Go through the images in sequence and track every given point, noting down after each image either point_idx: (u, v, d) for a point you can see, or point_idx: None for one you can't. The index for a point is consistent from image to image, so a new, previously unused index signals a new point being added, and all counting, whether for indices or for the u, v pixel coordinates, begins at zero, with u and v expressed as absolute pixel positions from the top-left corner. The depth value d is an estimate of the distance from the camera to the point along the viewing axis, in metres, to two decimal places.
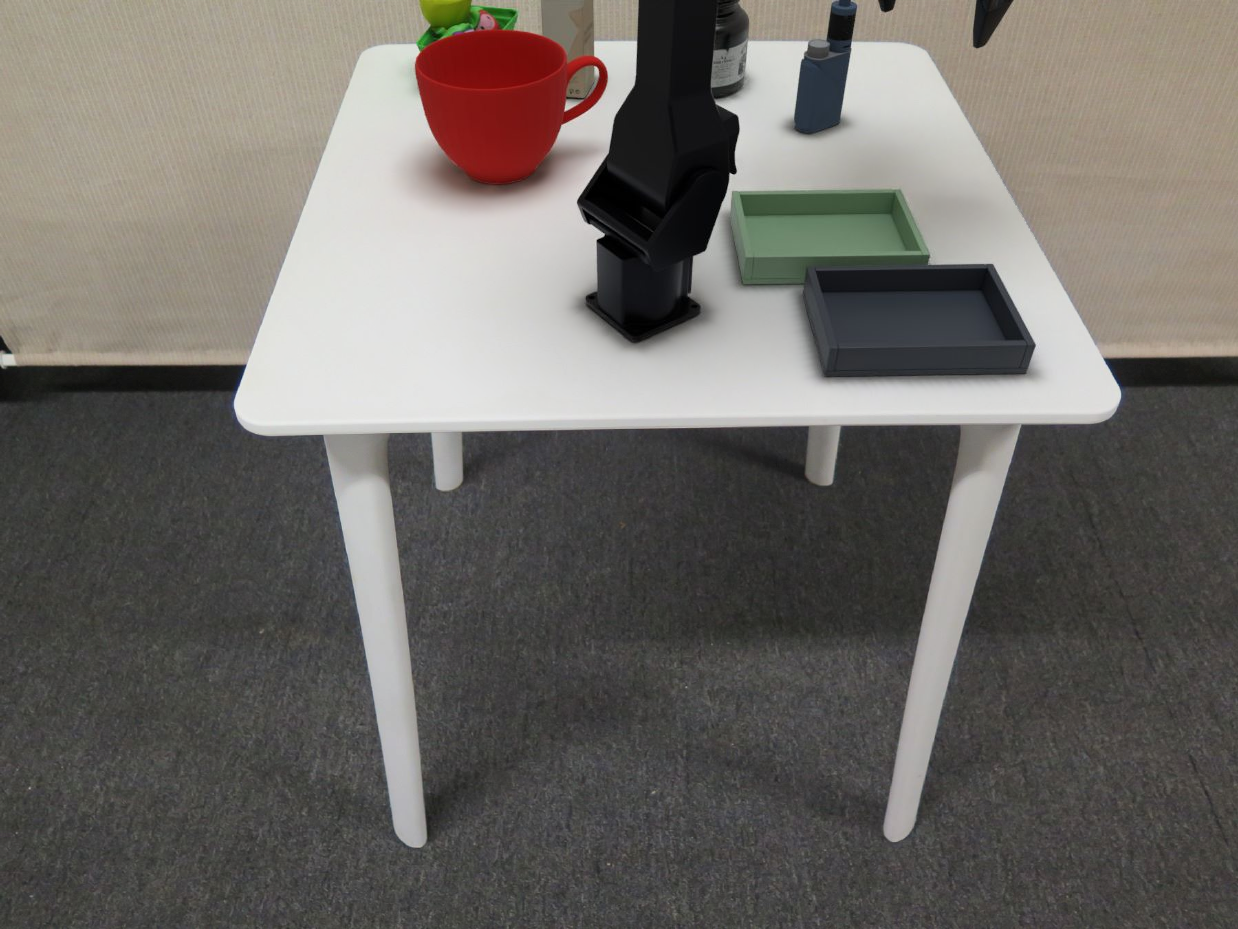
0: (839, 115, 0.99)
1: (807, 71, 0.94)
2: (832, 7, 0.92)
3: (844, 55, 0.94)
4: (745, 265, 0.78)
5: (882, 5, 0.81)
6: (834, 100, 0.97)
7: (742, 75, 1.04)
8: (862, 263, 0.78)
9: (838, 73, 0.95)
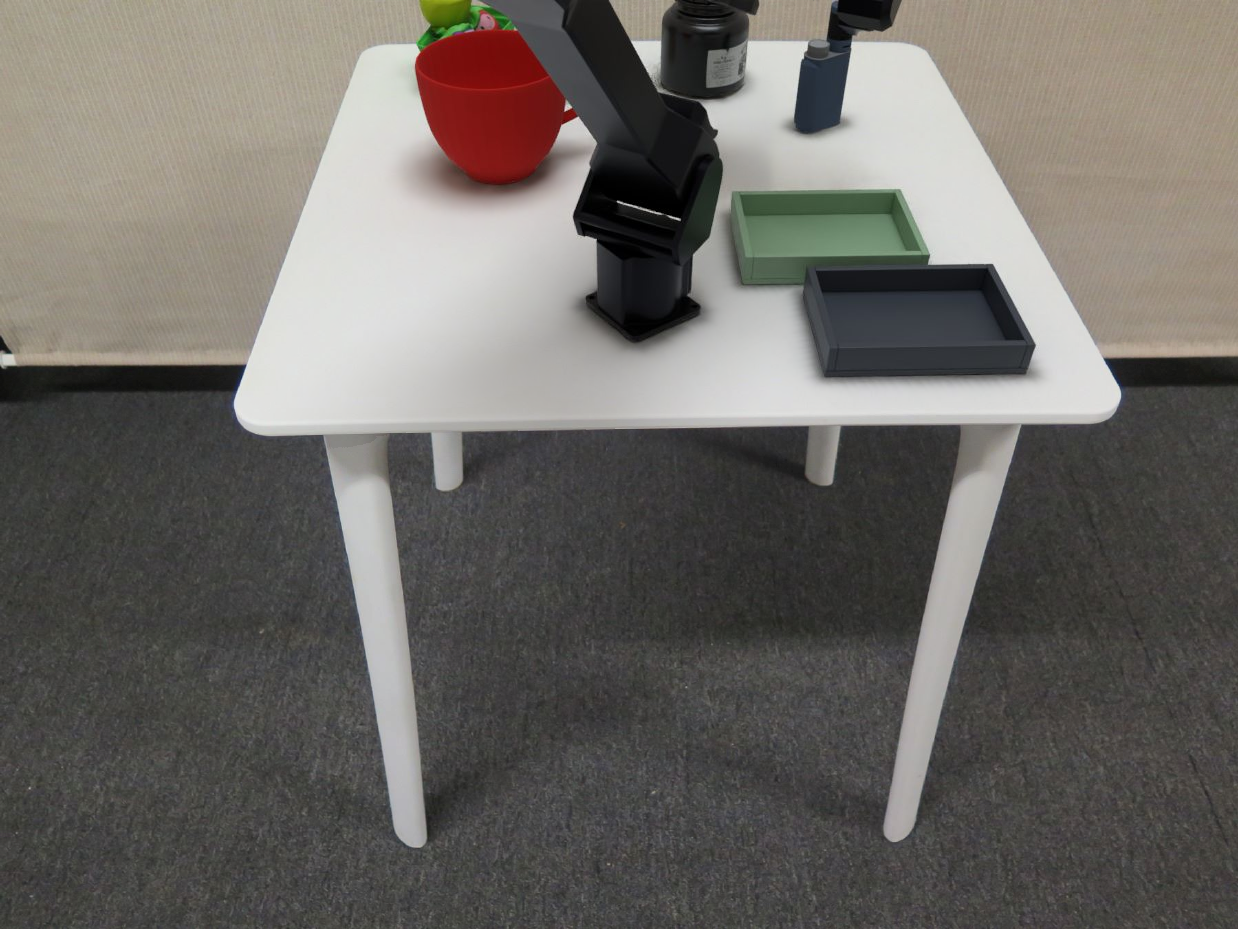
0: (839, 115, 0.99)
1: (807, 71, 0.94)
2: (832, 7, 0.92)
3: (844, 55, 0.94)
4: (745, 265, 0.78)
5: (751, 14, 0.87)
6: (834, 100, 0.97)
7: (742, 75, 1.04)
8: (862, 263, 0.78)
9: (838, 73, 0.95)
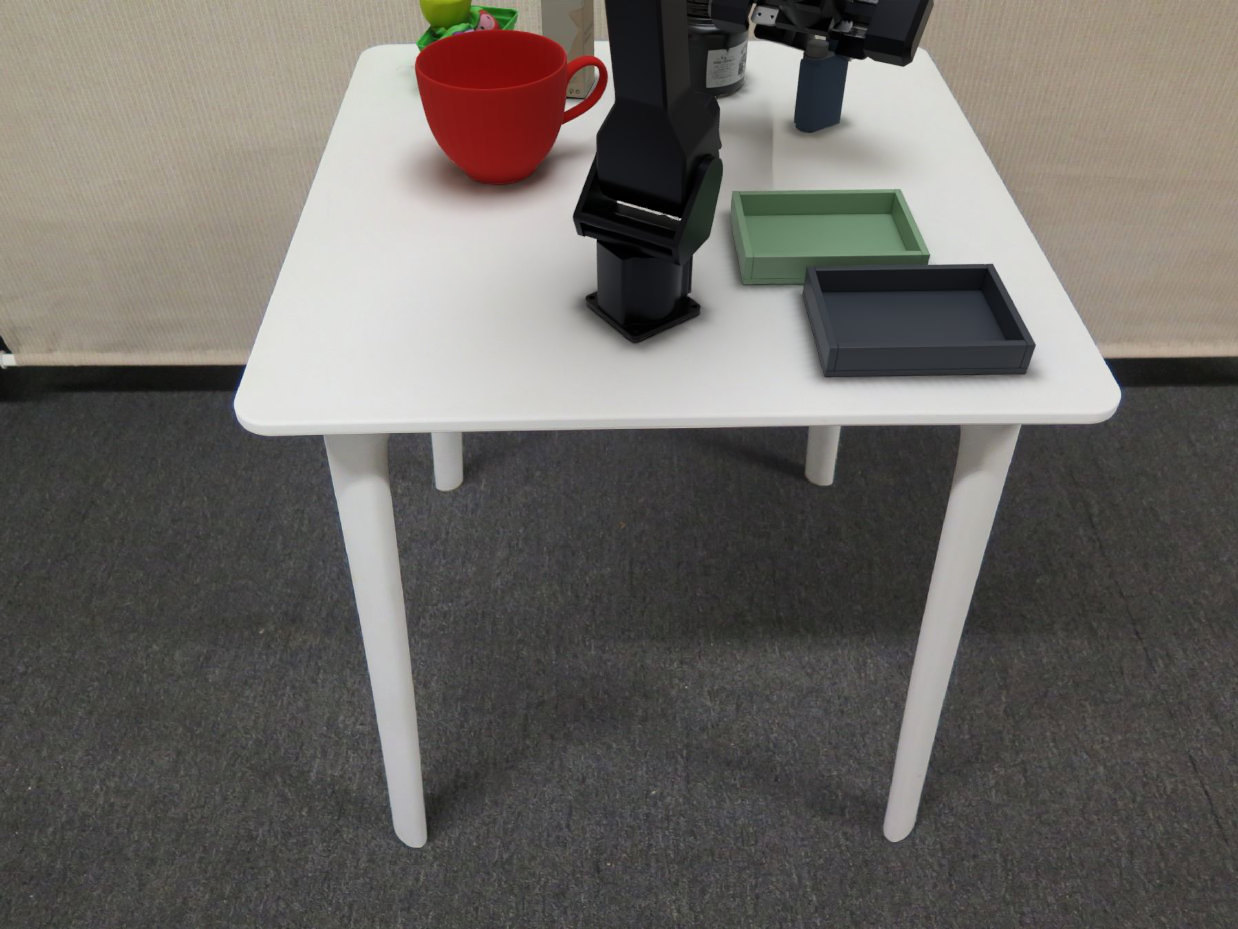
0: (839, 115, 0.98)
1: (806, 71, 0.94)
2: None
3: None
4: (745, 265, 0.78)
5: None
6: (834, 99, 0.97)
7: (742, 75, 1.04)
8: (862, 263, 0.78)
9: (837, 72, 0.95)
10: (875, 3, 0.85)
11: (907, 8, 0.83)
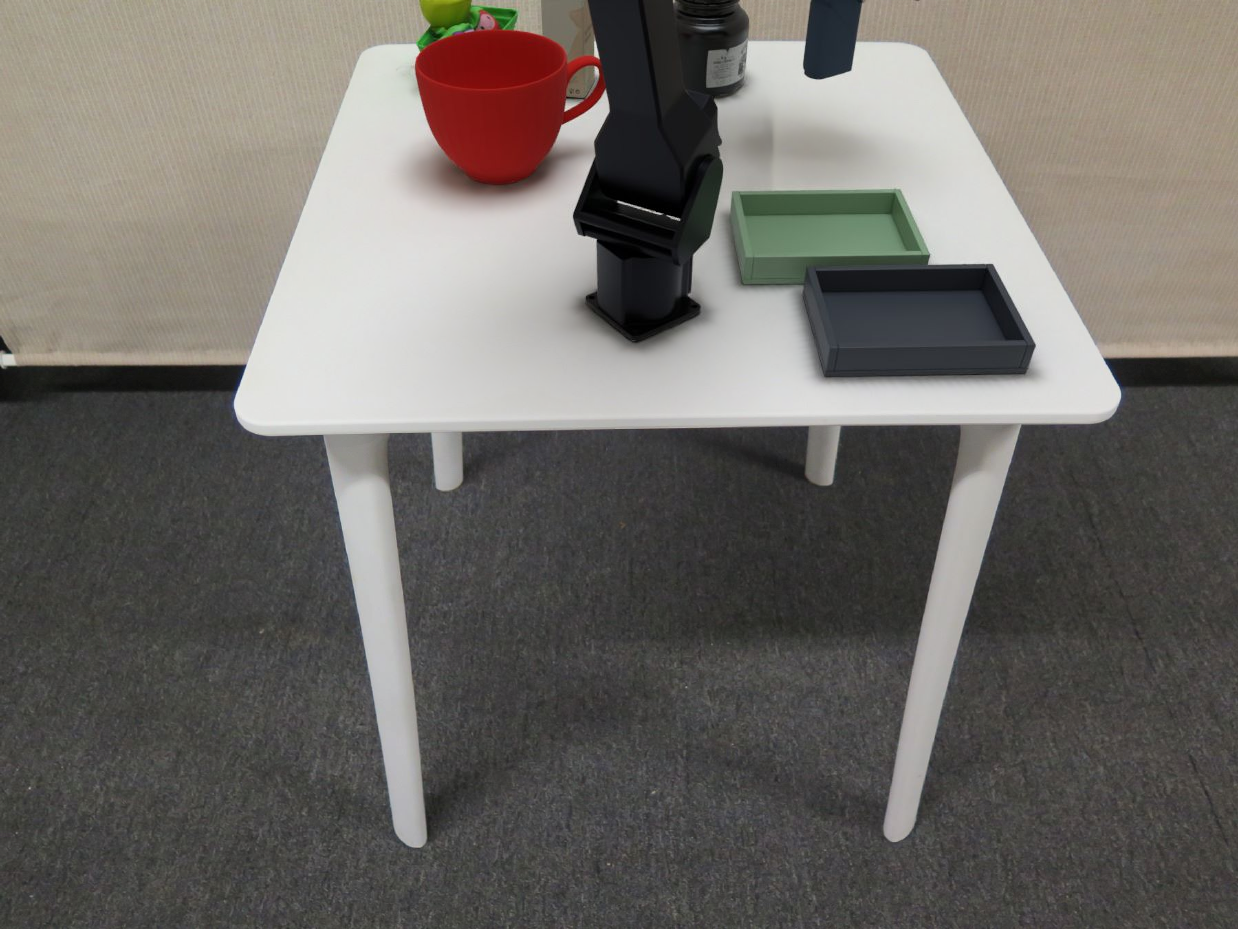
0: (851, 62, 0.94)
1: (817, 11, 0.89)
2: None
3: None
4: (745, 265, 0.78)
5: None
6: (845, 44, 0.92)
7: (742, 75, 1.04)
8: (862, 263, 0.78)
9: (850, 14, 0.90)
10: None
11: None
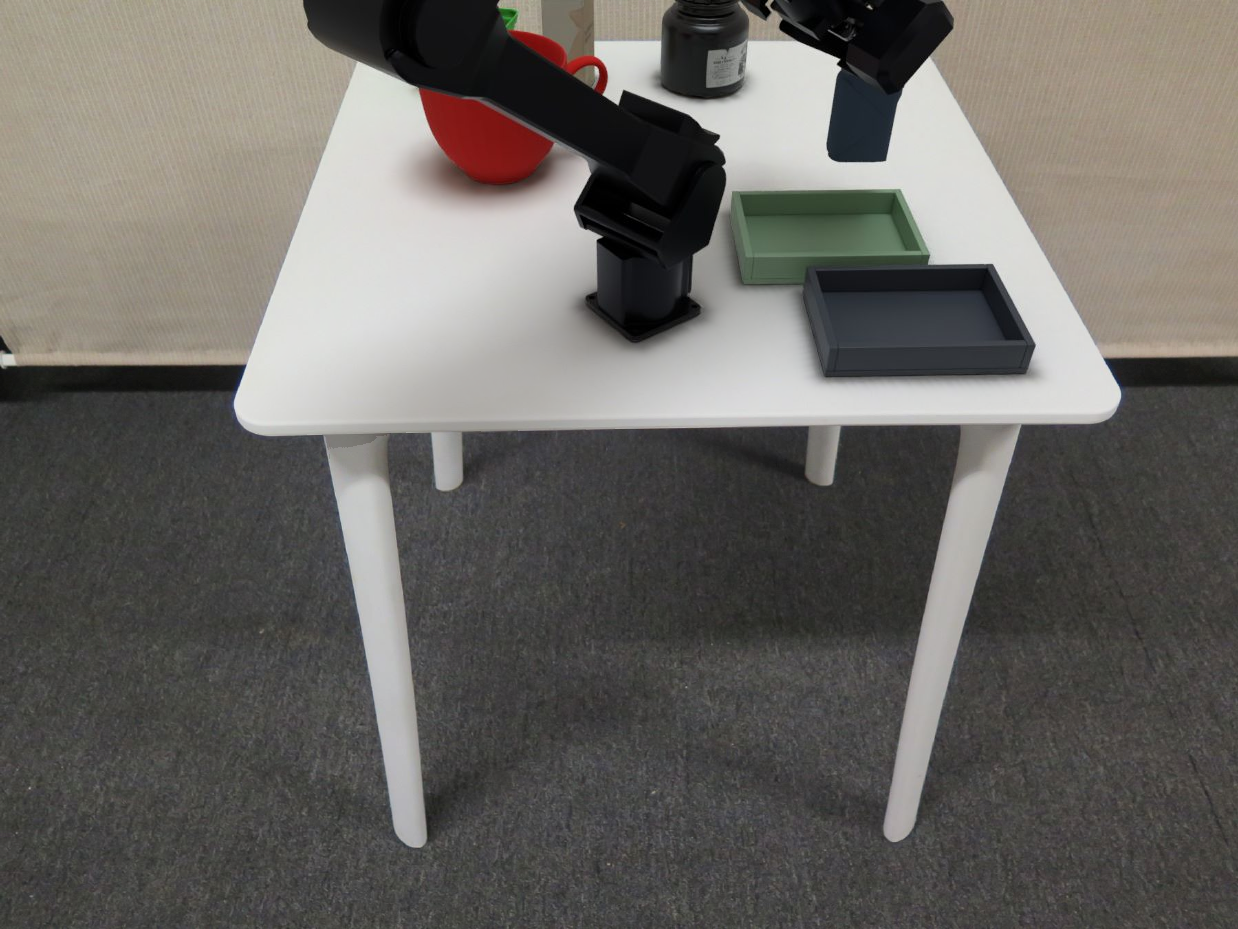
0: (883, 152, 0.81)
1: (837, 85, 0.78)
2: None
3: None
4: (745, 265, 0.78)
5: None
6: (874, 130, 0.80)
7: (742, 75, 1.04)
8: (862, 263, 0.78)
9: (880, 98, 0.78)
10: None
11: (901, 22, 0.66)
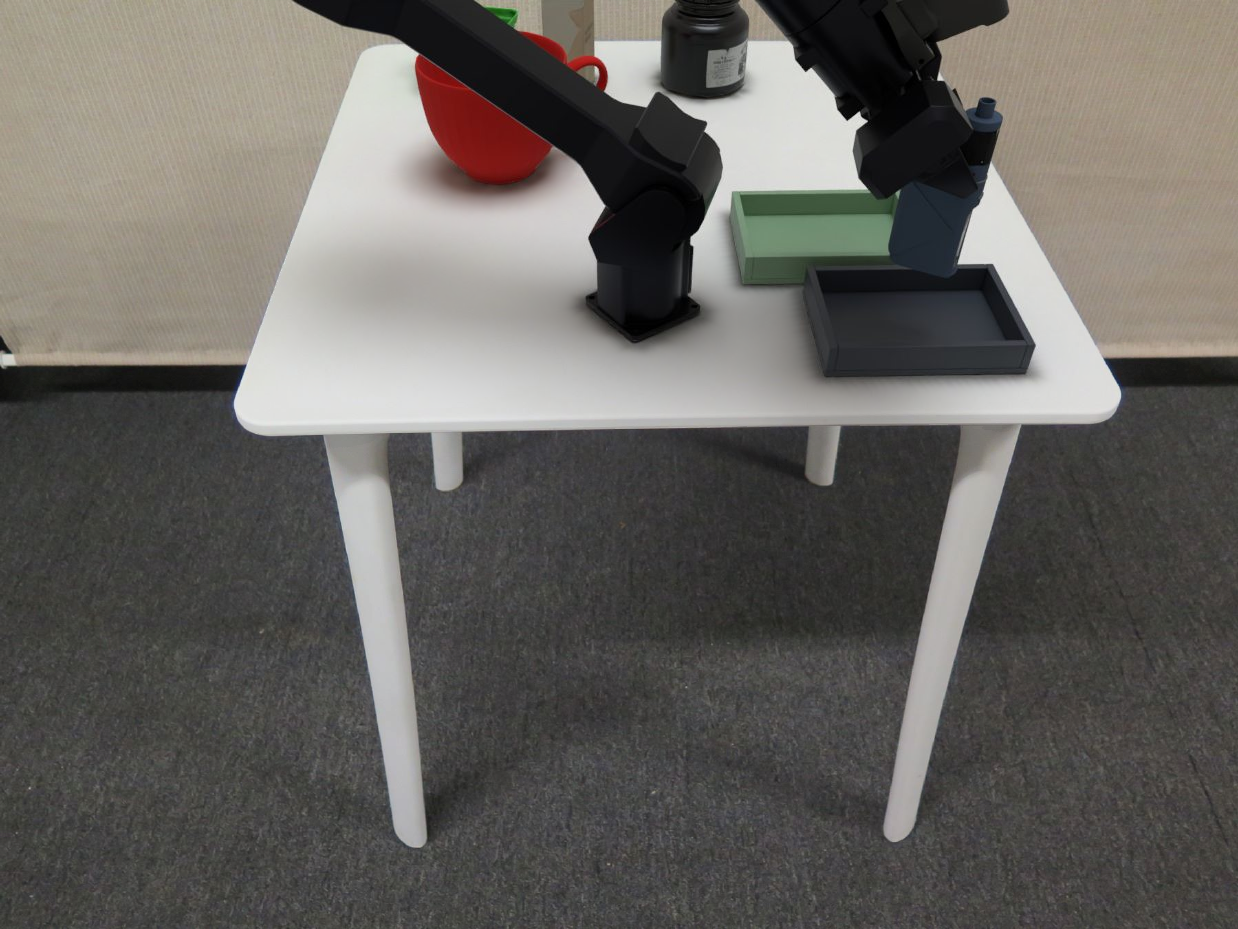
0: (946, 267, 0.69)
1: None
2: None
3: None
4: (745, 265, 0.78)
5: None
6: (936, 239, 0.68)
7: (742, 75, 1.04)
8: (862, 263, 0.78)
9: (945, 204, 0.66)
10: None
11: (901, 120, 0.55)
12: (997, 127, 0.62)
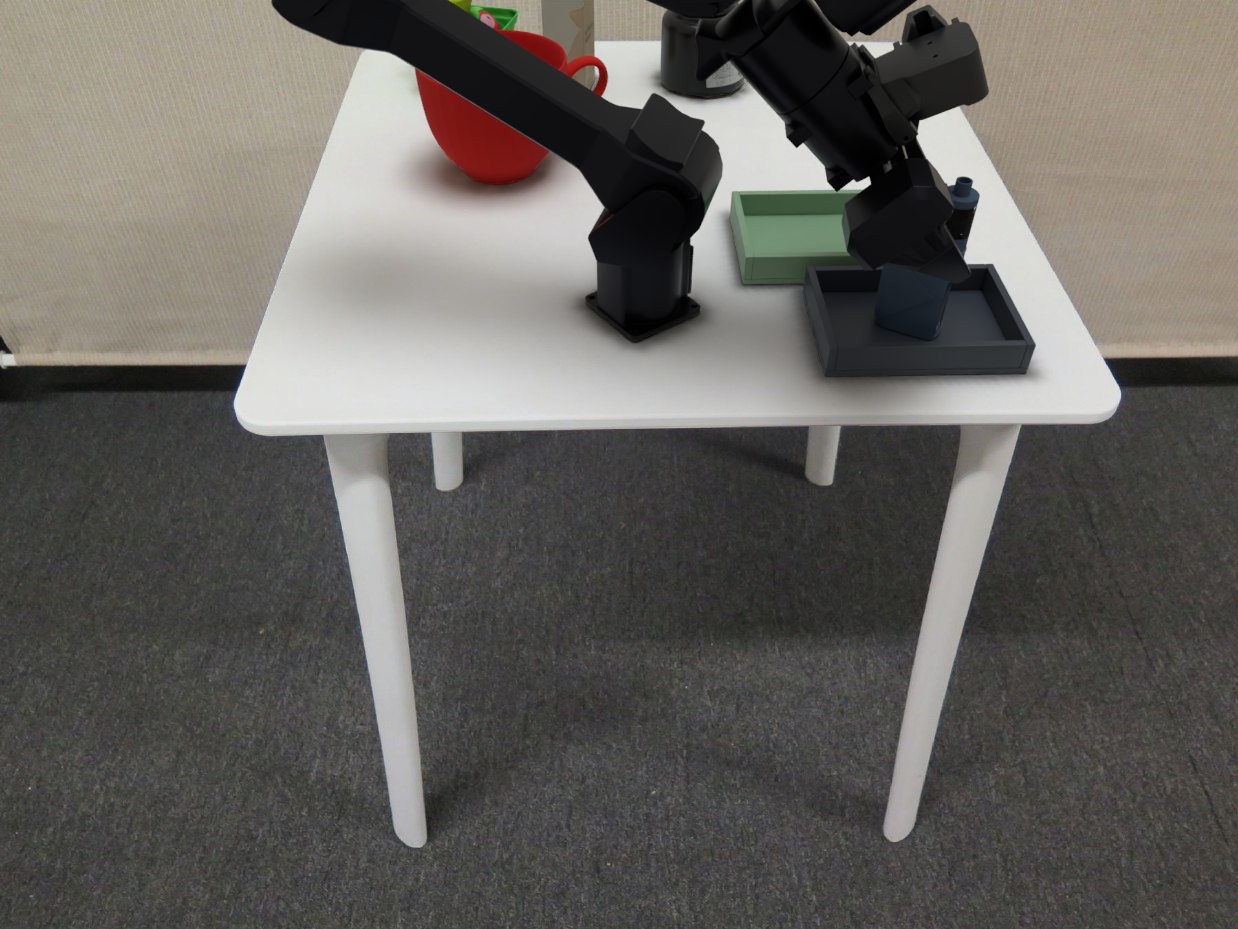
0: (929, 330, 0.72)
1: None
2: None
3: None
4: (745, 265, 0.78)
5: None
6: (919, 305, 0.71)
7: None
8: None
9: None
10: None
11: (886, 197, 0.59)
12: (974, 205, 0.66)
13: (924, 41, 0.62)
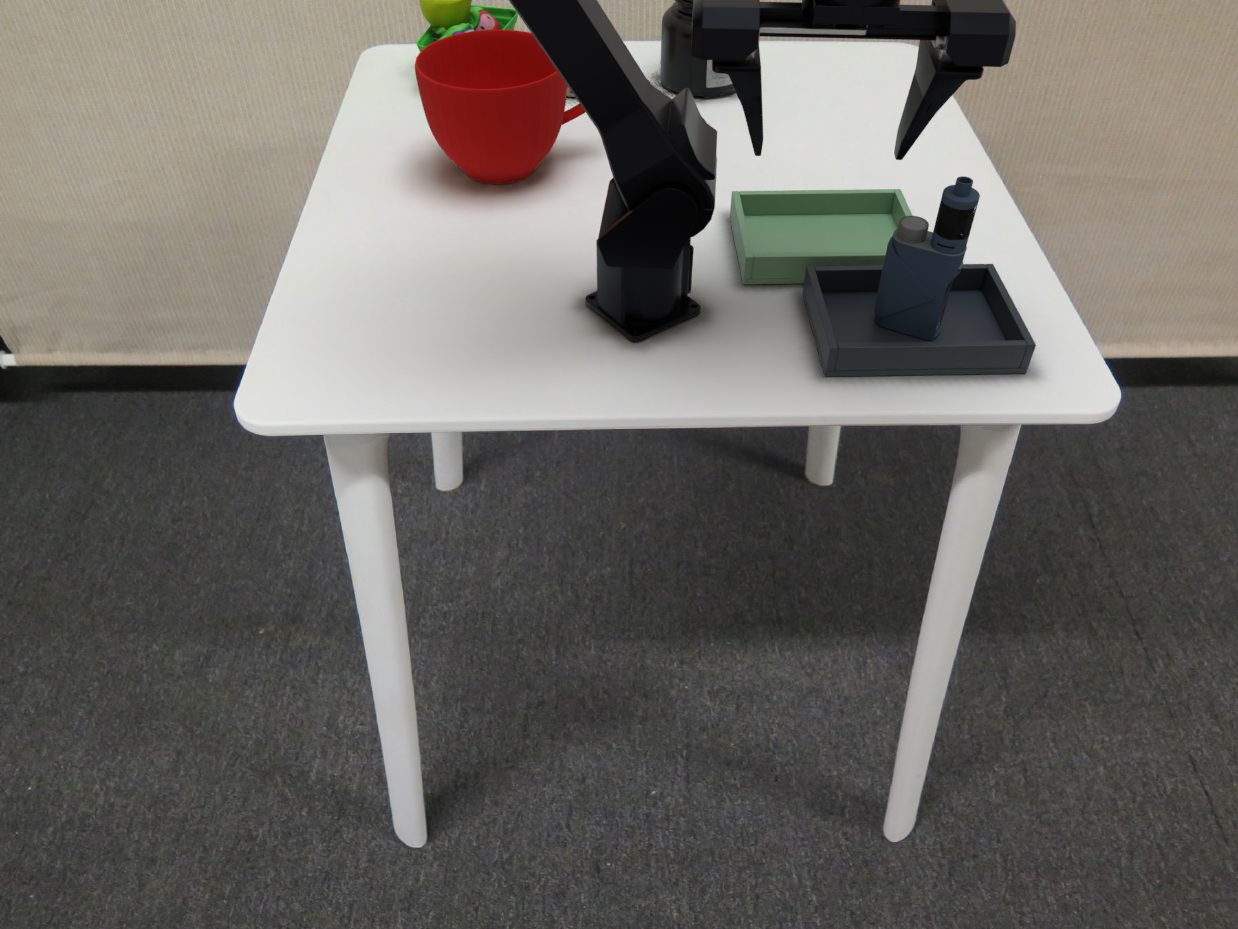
0: (929, 330, 0.72)
1: (887, 247, 0.71)
2: None
3: (938, 256, 0.68)
4: (745, 265, 0.78)
5: (759, 149, 0.66)
6: (919, 305, 0.71)
7: None
8: (862, 263, 0.78)
9: (927, 274, 0.70)
10: None
11: None
12: (974, 205, 0.66)
13: None
